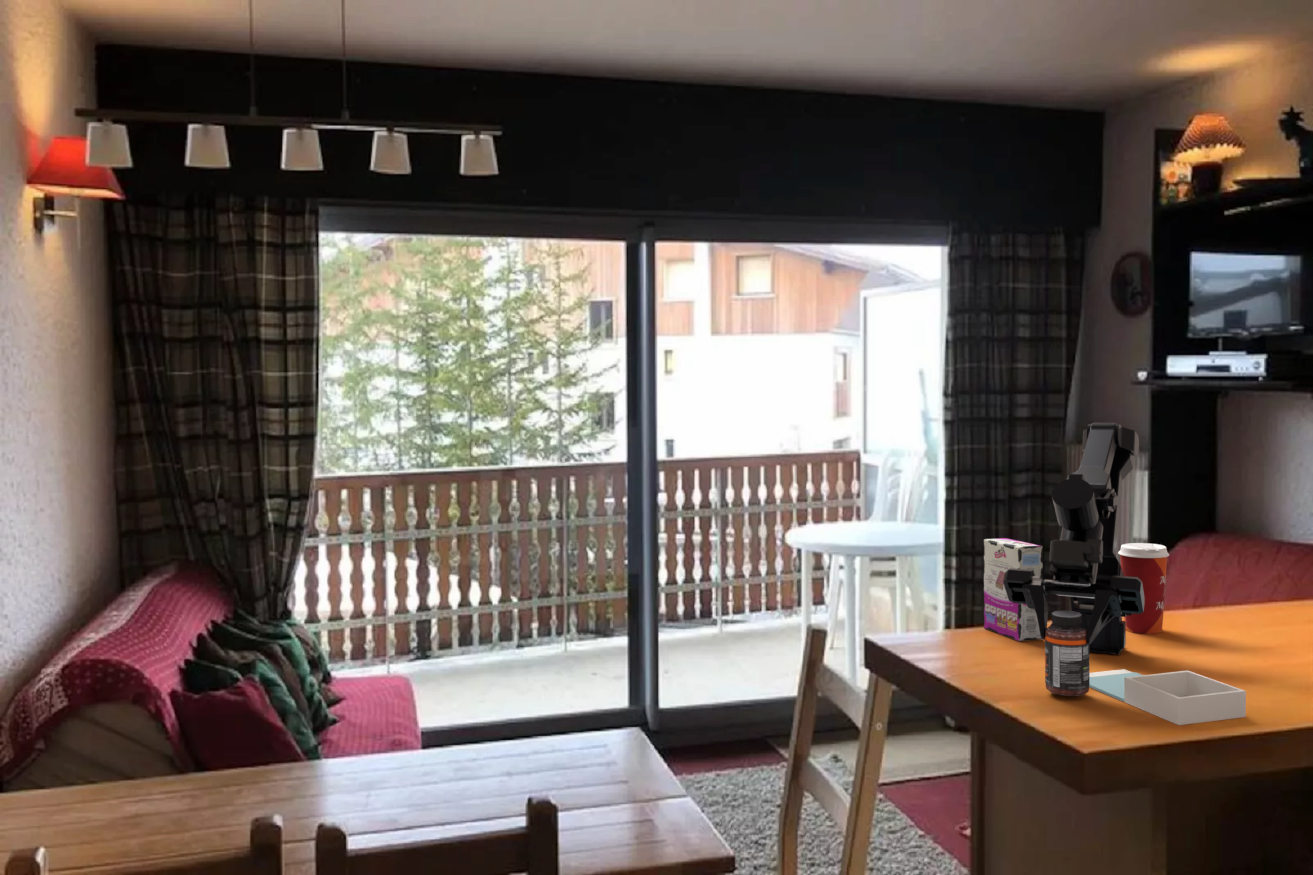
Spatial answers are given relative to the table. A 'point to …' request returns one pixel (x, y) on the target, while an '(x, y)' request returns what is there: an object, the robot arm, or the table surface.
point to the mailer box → (1173, 695)
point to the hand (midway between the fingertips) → (1065, 640)
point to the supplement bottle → (1066, 655)
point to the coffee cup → (1146, 583)
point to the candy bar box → (997, 606)
